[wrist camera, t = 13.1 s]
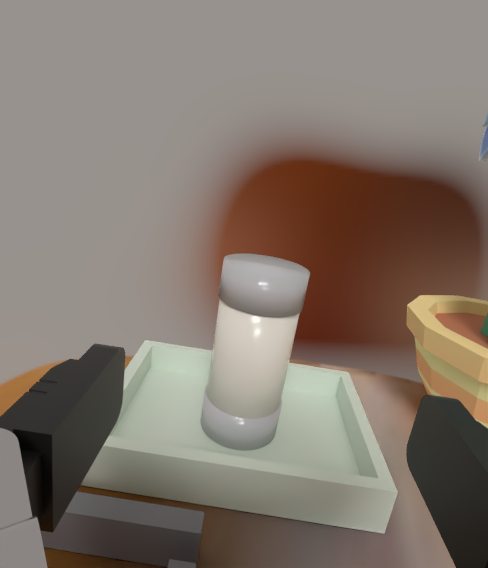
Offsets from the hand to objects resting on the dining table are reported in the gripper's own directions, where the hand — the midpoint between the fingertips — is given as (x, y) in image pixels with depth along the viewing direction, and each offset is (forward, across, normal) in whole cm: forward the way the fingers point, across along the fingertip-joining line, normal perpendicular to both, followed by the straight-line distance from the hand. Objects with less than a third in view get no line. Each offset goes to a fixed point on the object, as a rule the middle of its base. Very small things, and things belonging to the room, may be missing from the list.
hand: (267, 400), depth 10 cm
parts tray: (+11, 0, +10) cm, 15 cm away
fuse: (+11, 0, +9) cm, 14 cm away
